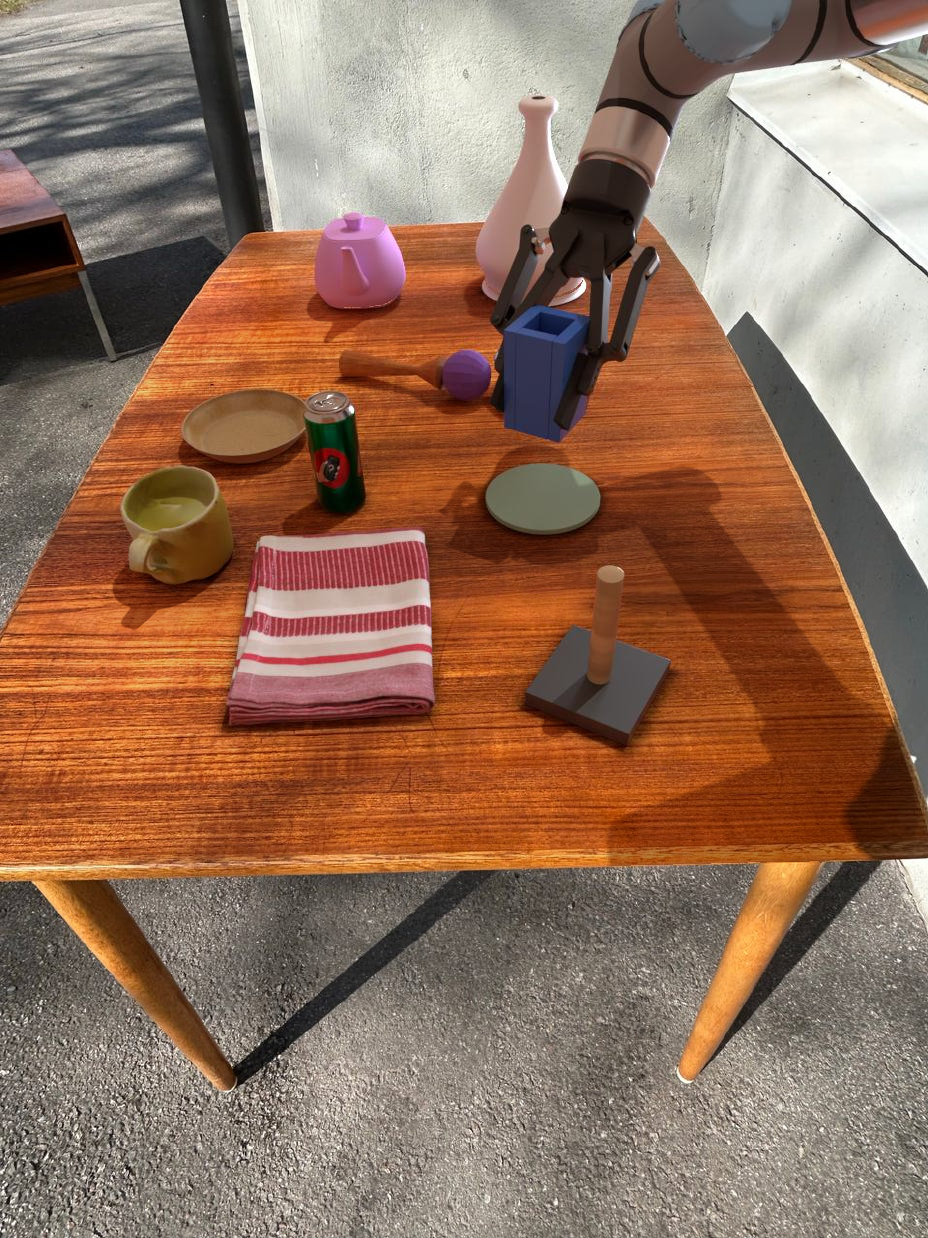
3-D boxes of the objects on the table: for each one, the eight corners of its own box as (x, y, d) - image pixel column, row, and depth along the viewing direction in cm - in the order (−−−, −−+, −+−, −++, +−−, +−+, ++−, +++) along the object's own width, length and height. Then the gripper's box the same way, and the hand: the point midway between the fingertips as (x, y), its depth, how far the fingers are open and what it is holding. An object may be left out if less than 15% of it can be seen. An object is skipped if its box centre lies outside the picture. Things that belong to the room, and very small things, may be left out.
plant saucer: (300, 397, 109) (297, 378, 107) (325, 458, 99) (322, 438, 97) (181, 420, 106) (175, 401, 104) (193, 486, 95) (187, 465, 94)
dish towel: (227, 730, 70) (220, 709, 68) (260, 548, 87) (255, 527, 85) (436, 717, 70) (434, 695, 69) (428, 538, 87) (426, 517, 86)
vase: (609, 300, 126) (626, 106, 109) (495, 317, 124) (493, 120, 106) (568, 257, 139) (577, 76, 122) (463, 271, 136) (457, 88, 119)
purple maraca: (355, 334, 112) (498, 346, 105) (359, 379, 115) (498, 394, 108) (331, 345, 108) (479, 359, 101) (336, 392, 111) (480, 409, 104)
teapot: (325, 274, 137) (314, 194, 129) (409, 271, 136) (403, 192, 128) (308, 331, 122) (295, 246, 114) (403, 328, 122) (396, 242, 114)
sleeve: (532, 399, 88) (534, 303, 81) (586, 413, 86) (593, 316, 79) (503, 427, 84) (503, 329, 78) (559, 443, 82) (564, 343, 75)
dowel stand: (571, 636, 77) (580, 523, 68) (669, 672, 73) (691, 557, 65) (524, 704, 71) (527, 590, 63) (627, 746, 68) (645, 632, 59)
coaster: (611, 478, 94) (612, 473, 94) (583, 544, 86) (583, 540, 86) (506, 459, 97) (506, 455, 97) (469, 521, 89) (469, 517, 89)
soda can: (374, 505, 92) (362, 404, 83) (331, 522, 90) (314, 420, 82) (353, 483, 95) (339, 383, 87) (311, 498, 93) (292, 397, 85)
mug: (171, 497, 91) (158, 435, 82) (256, 542, 90) (252, 484, 81) (95, 583, 85) (72, 526, 76) (185, 632, 84) (172, 580, 75)
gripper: (718, 214, 80) (631, 453, 81) (534, 185, 87) (457, 405, 88) (709, 168, 73) (613, 430, 74) (509, 141, 80) (426, 380, 82)
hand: (528, 416), depth 81 cm, fingers closed on sleeve, 6 cm apart
